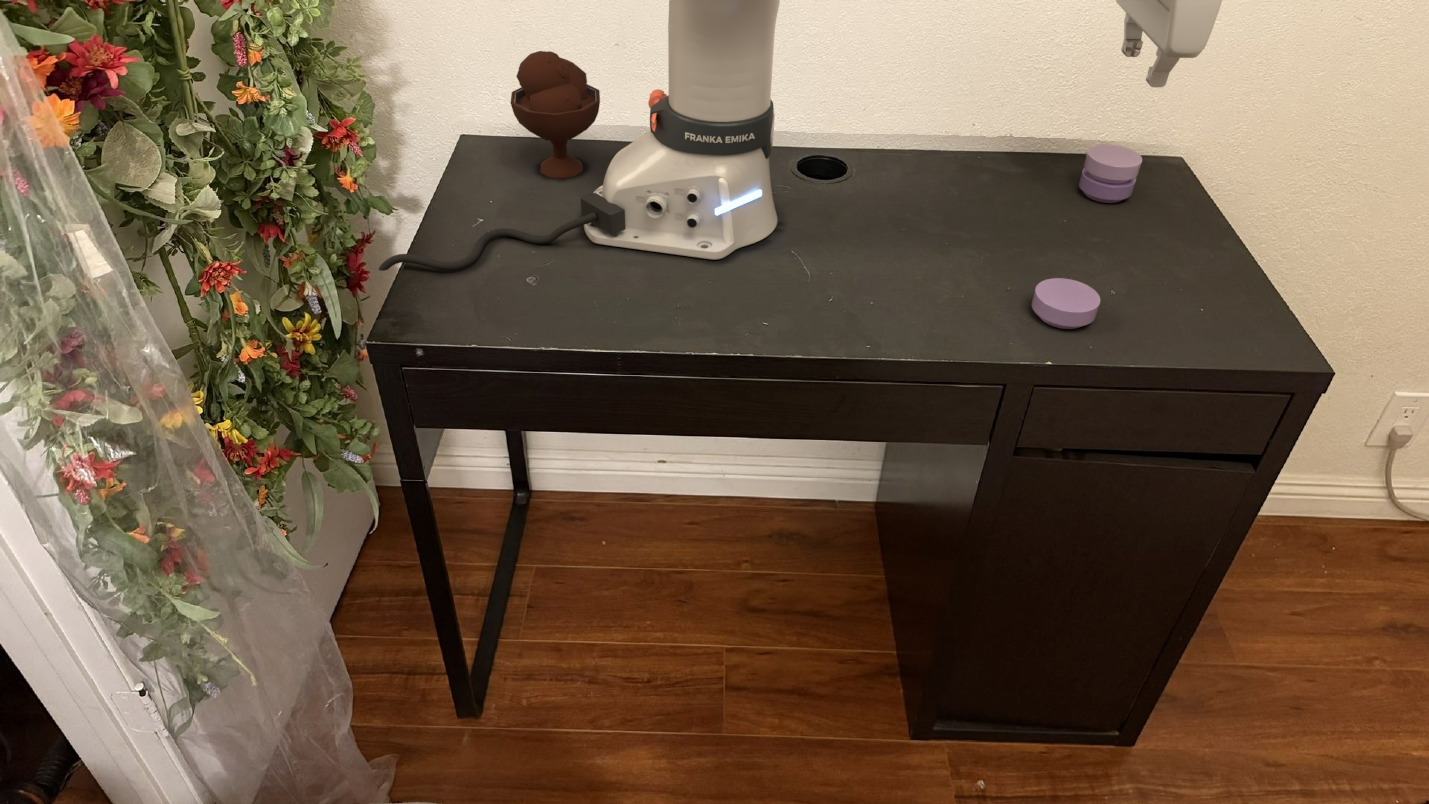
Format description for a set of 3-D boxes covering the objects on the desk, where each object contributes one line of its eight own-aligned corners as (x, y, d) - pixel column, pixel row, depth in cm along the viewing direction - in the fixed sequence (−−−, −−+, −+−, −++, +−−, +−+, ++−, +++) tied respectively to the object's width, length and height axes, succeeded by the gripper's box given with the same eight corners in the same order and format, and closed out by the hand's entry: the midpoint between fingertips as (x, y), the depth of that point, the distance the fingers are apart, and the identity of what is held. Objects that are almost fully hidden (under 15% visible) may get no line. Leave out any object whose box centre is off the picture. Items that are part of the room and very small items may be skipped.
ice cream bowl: (591, 192, 121) (583, 70, 112) (504, 182, 123) (489, 61, 113) (615, 155, 129) (610, 39, 120) (533, 146, 131) (522, 31, 121)
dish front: (1037, 332, 99) (1043, 310, 98) (1023, 297, 104) (1029, 276, 103) (1101, 334, 99) (1108, 313, 98) (1084, 300, 104) (1091, 278, 103)
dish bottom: (1084, 205, 121) (1089, 186, 120) (1071, 181, 126) (1076, 162, 125) (1137, 207, 121) (1143, 187, 120) (1121, 183, 126) (1127, 164, 125)
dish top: (1089, 186, 120) (1095, 166, 118) (1076, 162, 125) (1081, 143, 123) (1143, 187, 120) (1149, 167, 118) (1127, 164, 125) (1133, 145, 123)
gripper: (1120, -85, 113) (1090, 38, 122) (1180, -34, 97) (1140, 103, 106) (1175, -83, 113) (1141, 39, 122) (1245, -32, 97) (1200, 104, 106)
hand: (1141, 69), depth 114 cm, fingers open, 8 cm apart
